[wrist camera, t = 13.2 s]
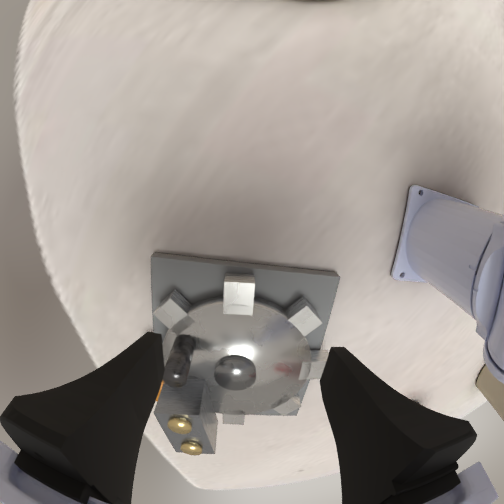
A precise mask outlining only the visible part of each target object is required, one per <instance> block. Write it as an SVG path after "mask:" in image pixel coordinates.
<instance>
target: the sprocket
mask: <svg viewBox="0 0 504 504" xmlns="http://www.w3.org/2000/svg"><path fill="white" fill-rule="evenodd" d="M254 290H255V277H254V275H249V274H231V273H226V274H225V280H224V295H219V296H214V297H210V298H207V299H204V300H201V301H198V302H196V303H194V304H192V305H191V304H190V303H189V302H188V301H187V300H186V299H185V298H184V297H183V296H182V295H181V294H180V293H179V292H178V291H177V290H176V289H175V290H174V291H173V292H172V293H171V294H170V295H169V296H167V297H166V298H165V299H164V300H163V301H162V302H161V303H160V304H159V305H158V307H157V308H156V310H155V312H154V313H153V314H154V315H155V316H156V317H157V318H158V319H159V320H160V321H161V322H162V323H163V324H164V325H166V326H167V327H168V328H169V329H168V331H167V334H166V336H165V338H164V341H163V343H162V346H163V357H164V366H165V371H164V375H163V380H162V383H161V387H160V390H159V393H158V395H157V398H156V401H157V402H158V398H159V395H160V392H161V389H162V386H163V383H164V382H165V383H166V384H168V385H170V386H172V387H182V386H184V385H185V384H186V381H187V379H205V380H206V384H207V387H208V391H209V394H210V397H211V401H212V404H213V407H214V410H215V412H216V413H221V414H223V424H239V425H244V415H249V414H256V413H260V412H264V411H268V410H270V409H274V410H275V411H277V412H278V413H280V414H281V415H283V416H285V415H287V414H288V413H290V412H292V411H294V410H296V409H298V408H299V407H301V403H300V399H299V395H298V394H297V393H298V392H299V390H300V389H301V388H302V387H303V385H304V384H305V382H306V380H307V379H321V376H322V373H323V370H324V367H325V364H326V361H327V358H328V355H329V353H328V351H327V350H310V348H309V345H308V342H307V339H306V335H307V334H309V333H310V332H311V331H313V330H314V329H315V328H317V327H318V326H320V325H321V324H322V321H321V319H320V316H319V314H318V313H317V311H316V310H315V309H314V308H313V307H312V306H311V305H310V304H309V303H308V301H307V300H306V299H305V298H304V297H303V296H302V297H301V298H300V299H299V300H297V301H296V302H295V303H293V304H292V305H291V306H289V307H288V308H287V309H286V310H284V309H283V308H282V307H280V306H278V305H276V304H274V303H272V302H270V301H267V300H264V299H261V298H257V297H254Z"/></svg>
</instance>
